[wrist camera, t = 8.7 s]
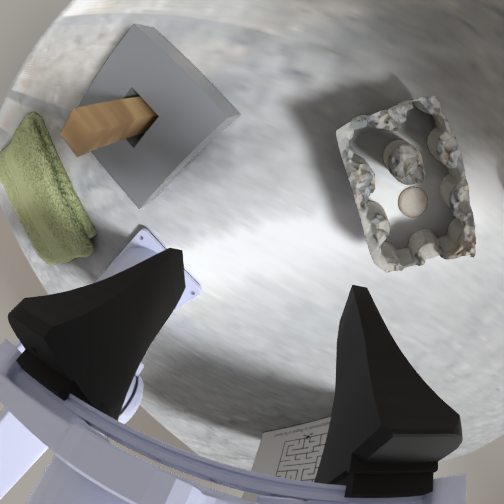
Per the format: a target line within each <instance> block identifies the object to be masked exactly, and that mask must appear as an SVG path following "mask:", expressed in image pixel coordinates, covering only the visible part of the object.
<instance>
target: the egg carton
mask: <svg viewBox="0 0 504 504" xmlns="http://www.w3.org/2000/svg"><path fill="white" fill-rule="evenodd" d="M412 103H413V104H414V105H415V106H416V107H417V108H418V109H419V110H420V111H423V112H425V113H429V114H432V116H433V118H434V120H435V124H436V128H434V129H433V130H432V131H431V132H430V134H429V136H428V138H427V145H428V149H429V151H430V152H431V154H432V155H433V156H434V157H435V158H436V159H437V160H438V161H440V162H441V163H442V164H444V165H446V166H447V168H448V171H449V174H448V175H446V176H445V177H444V178H443V180H442V182H441V185H440V194H441V197H442V199H443V200H444V201H445V202H446V204H447V205H448V206H449V207H450V209H451V210H452V213H453V215H454V216H455V217H456V218H455V219H453V220H452V222H451V223H450V225H449V227H448V232H447V235H445V236H442V237H439V238H436V237H435V235H434V233H433V232H432V231H430V230H428V229H420V230H418V231H416V232H415V233H413V234H412V236H411V237H410V239H409V244H408V247H407V248H403V249H399V250H397V249H395V247H394V246H393V245H392V244H390V243H388V242H384V241H385V240H386V239H387V237H388V236H389V231H390V225H389V221H388V219H387V216H386V213H385V211H384V209H383V207H382V206H381V205H380V204H378V203H377V202H374V201H368V197H369V195H370V194H371V193H373V192H374V190H375V183H374V182H375V174H374V172H373V171H372V169H371V168H370V166H369V164H368V163H367V161H366V160H365V159H364V158H362V157H360V156H356V155H353V154H354V151H353V149H352V148H351V147H350V145H349V142H350V140H351V139H352V137H353V133H354V130H355V129H362V128H365V127H366V126H367V125H368V122H370V123H371V124H372V125H373V126H375V127H376V128H377V129H385V130H389V131H396V130H400V129H401V124H402V123H403V122H405V121H406V119H407V111H408V110H410V109H412V108H413V105H412ZM336 137H337V142H338V146H339V150H340V153H341V157H342V160H343V163H344V166H345V169H346V172H347V175H348V179H349V182H350V185H351V188H352V191H353V194H354V198H355V202H356V206H357V208H358V212H359V215H360V219H361V223H362V226H363V230H364V235H365V238H366V241H367V245H368V248H369V251H370V255H371V257H372V259H373V262H374V263H375V264H376V265H377V266H378V267H379V268H381V269H382V270H384V271H385V272H391V271H398V270H401V271H402V270H403V269H404V268H406V267H408V266H412V265H419V266H421V265H423V264H424V263H425V261H424V260H425V259H429V258H432V257H435V256H438V255H440V256H441V257H442V258H444V259H455V258H458V257H461V256H466V255H471V257H474V256H475V252H476V251H475V244H476V237H475V225H474V218H473V212H472V209H471V207H470V201H469V187H468V183H467V180H466V176H465V170H464V165H463V160H462V154H461V150H460V148H459V145H458V143H457V140H456V138H455V136H454V133H453V131H452V129H451V128H450V126H449V123H448V121H447V119H446V117H445V115H444V114H443V112H442V110H441V105H440V103H439V101H438V99H437V97H436V96H435V95H434V96H432V97H421V98H417V99H414V100H406V101H403V102H400V103H398V104H397V105H396V106H393V107H391V108H390V109H387V110H382V111H379V112H377V113H374V114H372V115H370V116H367V115H363V114H362V115H359V116H357V117H353V118H352V119H351V122H349V123H347V124H346V125H344V126H342V127H341V128H339V129H338V130H336ZM383 160H384V163H385V165H386V166H387V168H388V170H389V171H390V173H391V174H392V175H393V176H394V177H395V178H396V179H397V180H398V181H399V182H401V183H403V184H406V185H410V184H415V183H421V182H423V181H424V180H425V177H426V170H425V168H424V165H423V160H422V155H421V153H420V151H418V150H417V149H416V148H415V147H414V146H412V145H410V144H409V143H408V142H406V141H403V140H402V139H401V140H394V141H392V142H390V143H389V144H388V145H387V146H386V148H385V150H384V152H383ZM426 207H427V196H426V194H425V192H424V191H423V190H422V189H420V188H418V187H409V188H407V189H405V190H404V191H403V192H402V193H401V195H400V198H399V208H400V210H401V212H402V213H403V214H404V215H406V216H408V217H417V216H420V215H421V214H422V213H423V212H424V211H425V210H426Z"/></svg>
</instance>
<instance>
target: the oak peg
mask: <svg viewBox="0 0 504 504" xmlns="http://www.w3.org/2000/svg"><path fill="white" fill-rule="evenodd" d="M158 117H159V116H158V115H157V114H156V113H155V112H154V111H153V109H152V108H151V107H150V106H149V105H148V104H147V103H146V102H145V101H144V100H143V98H142V97H141V96H140V97H133V98H126V99H119V100H113V101H108V102H102V103H97V104H92V105H87V106H82V107H78V108H74V109H73V111H72V112H71V114H70V116H69V118H68V120H67V122H66V124H65V126H64V128H63V130H62V132H61V136H62V137H63V138H64V140H65V141H66V143H67V144H68V145H69V147H70V148H71V149H72V151H73V152H74V154H75V155H76V156H77V157H78V156H80V155H83V154H85V153H88V152H90V151H93V150H95V149H98V148H101V147H103V146H106V145H109V144H112V143H114V142H117V141H120V140H123V139H126V138H129V137H132V136H135V135H138V134H141V133H144V132H147V130H148V129H149V128H150V127H151V125H152V124H153V123H154V122H155V121H156V119H157V118H158Z"/></svg>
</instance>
